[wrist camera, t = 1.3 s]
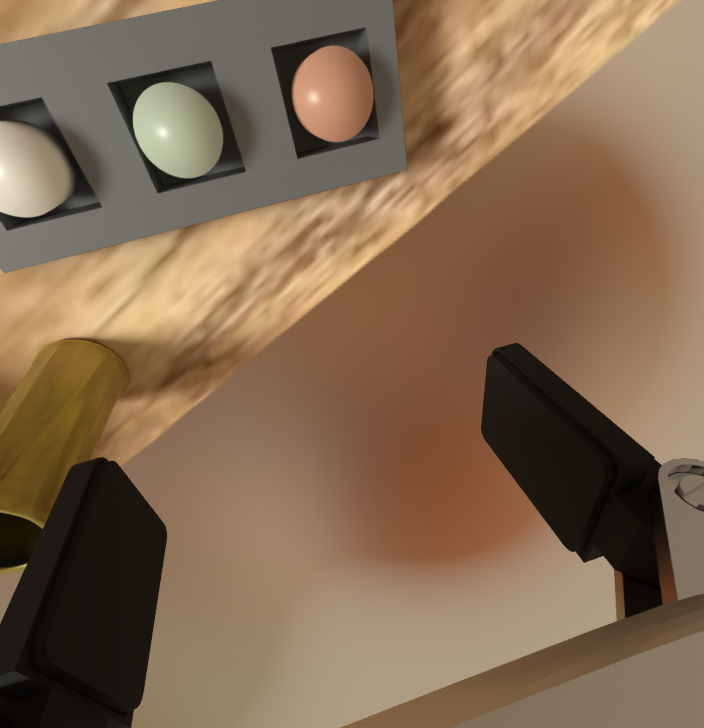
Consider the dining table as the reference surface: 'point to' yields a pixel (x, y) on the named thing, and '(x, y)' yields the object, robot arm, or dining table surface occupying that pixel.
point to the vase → (51, 436)
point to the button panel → (220, 87)
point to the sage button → (178, 129)
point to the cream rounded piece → (33, 170)
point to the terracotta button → (332, 94)
